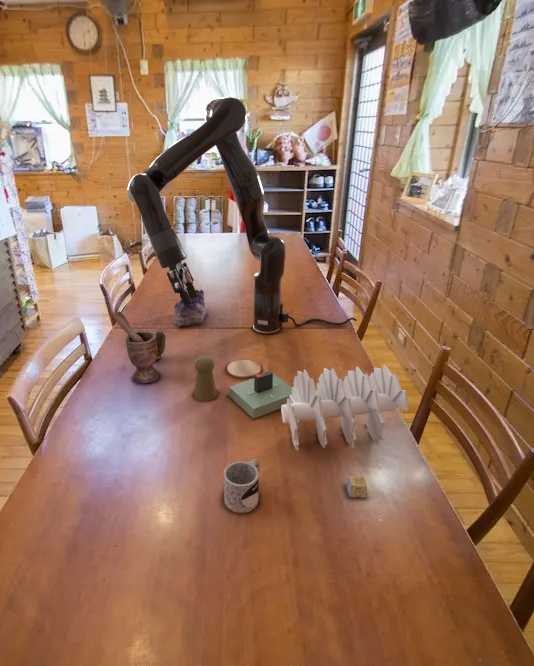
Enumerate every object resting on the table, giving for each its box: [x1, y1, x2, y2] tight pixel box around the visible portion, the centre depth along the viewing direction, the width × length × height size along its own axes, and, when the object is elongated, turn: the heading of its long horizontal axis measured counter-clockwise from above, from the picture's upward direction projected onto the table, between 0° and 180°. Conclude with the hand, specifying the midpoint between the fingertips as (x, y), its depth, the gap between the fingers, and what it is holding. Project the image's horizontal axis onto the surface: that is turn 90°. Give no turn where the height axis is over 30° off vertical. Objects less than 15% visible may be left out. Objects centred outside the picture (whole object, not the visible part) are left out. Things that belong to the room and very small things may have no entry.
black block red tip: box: [253, 370, 274, 393], centre depth 118 cm, size 5×2×5 cm, turn 120°
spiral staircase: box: [280, 364, 409, 451], centre depth 102 cm, size 18×18×25 cm
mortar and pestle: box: [112, 310, 160, 384], centre depth 127 cm, size 12×9×20 cm
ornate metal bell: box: [155, 331, 167, 362], centre depth 140 cm, size 8×7×8 cm
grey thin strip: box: [223, 458, 260, 514], centre depth 89 cm, size 10×7×7 cm
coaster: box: [226, 359, 262, 379], centre depth 135 cm, size 10×10×1 cm
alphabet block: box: [346, 475, 368, 498], centre depth 89 cm, size 3×3×3 cm
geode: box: [173, 289, 208, 328], centre depth 168 cm, size 20×12×10 cm, turn 174°
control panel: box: [228, 373, 293, 420], centre depth 120 cm, size 14×12×3 cm
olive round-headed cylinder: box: [193, 355, 218, 402], centre depth 121 cm, size 6×6×11 cm
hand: (191, 301), depth 128 cm, fingers open, 8 cm apart
